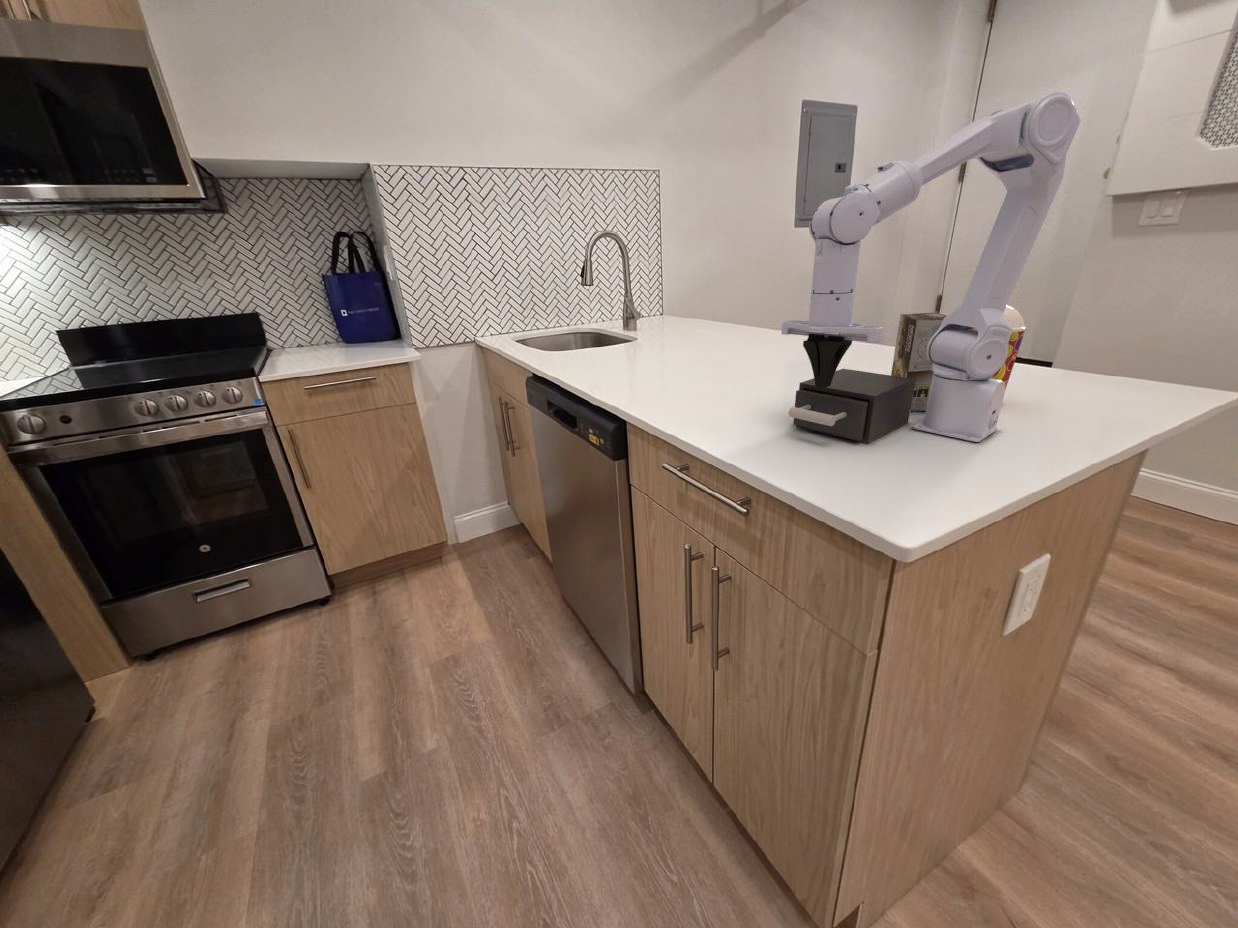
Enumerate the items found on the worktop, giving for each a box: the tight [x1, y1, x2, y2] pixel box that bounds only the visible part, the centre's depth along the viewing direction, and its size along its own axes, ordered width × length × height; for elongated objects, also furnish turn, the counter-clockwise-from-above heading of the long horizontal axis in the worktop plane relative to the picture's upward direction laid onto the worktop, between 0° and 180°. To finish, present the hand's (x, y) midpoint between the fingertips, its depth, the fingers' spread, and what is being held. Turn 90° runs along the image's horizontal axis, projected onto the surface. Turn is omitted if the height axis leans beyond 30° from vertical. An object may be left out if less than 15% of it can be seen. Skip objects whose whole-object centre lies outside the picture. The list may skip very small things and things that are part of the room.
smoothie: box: [970, 305, 1027, 391], centre depth 89 cm, size 8×8×20 cm
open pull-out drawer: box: [788, 389, 869, 440], centre depth 81 cm, size 18×11×6 cm, turn 129°
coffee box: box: [890, 312, 947, 412], centre depth 91 cm, size 9×6×16 cm
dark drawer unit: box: [795, 368, 916, 445], centre depth 84 cm, size 14×13×8 cm
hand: (822, 386), depth 76 cm, fingers closed
